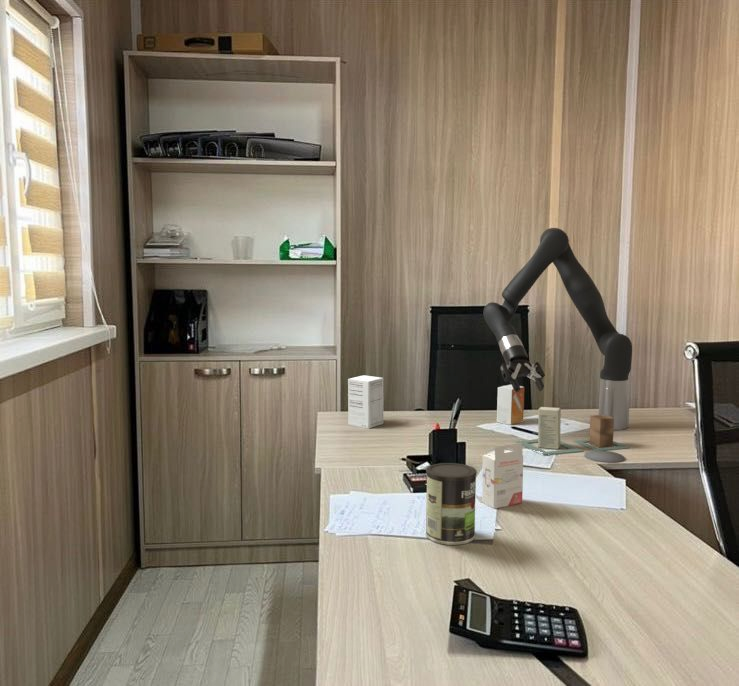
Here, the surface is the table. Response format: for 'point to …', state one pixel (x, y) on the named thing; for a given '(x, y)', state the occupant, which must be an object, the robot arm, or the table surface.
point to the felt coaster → (604, 456)
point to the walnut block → (601, 431)
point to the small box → (510, 405)
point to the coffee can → (450, 503)
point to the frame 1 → (571, 450)
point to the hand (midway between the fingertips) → (530, 390)
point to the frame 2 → (618, 446)
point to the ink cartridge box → (503, 476)
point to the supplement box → (365, 401)
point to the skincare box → (549, 427)
